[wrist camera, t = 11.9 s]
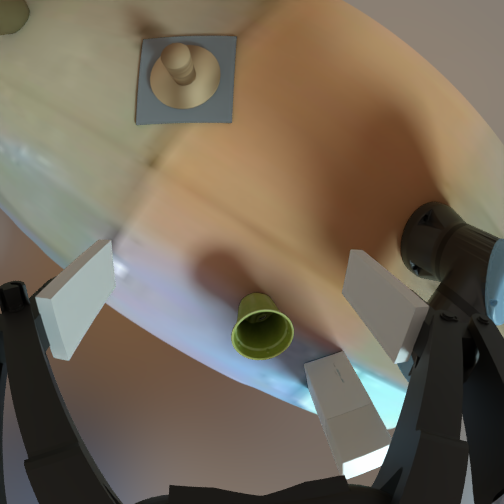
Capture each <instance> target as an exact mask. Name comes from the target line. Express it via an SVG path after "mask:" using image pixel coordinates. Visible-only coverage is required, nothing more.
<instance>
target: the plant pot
mask: <svg viewBox="0 0 504 504" xmlns="http://www.w3.org/2000/svg"><path fill="white" fill-rule="evenodd" d="M264 316H266V317H265V318H263V319H261V320H259V318H261V317H264ZM293 336H294V328H293V324H292V322H291V321H290V319H289V318H288V317H287V316H286V315H285V314H283V313H282V312H280V311H279V310H278V308H277V307H276V305H275V304H274V302H273V301H272V299H271V298H270V297H269V296H267V295H265V294H261V293H252V294H249V295H247V296H246V297H244V298H243V299H242V301H241V303H240V305H239V309H238V318H237V323H236V324H235V326H234V328H233V330H232V334H231V340H232V344H233V347H234V348H235V350H236V351H237V352H238V353H239V354H240V355H242V356H244V357H246V358H249V359H252V360H266V359H270V358H273V357H276V356H278V355H279V354H281V353H282V352H284V351H285V350H286V349H287V348H288V347H289V345H290V344H291V342H292V340H293Z"/></svg>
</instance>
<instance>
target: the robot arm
mask: <svg viewBox="0 0 504 504" xmlns="http://www.w3.org/2000/svg"><path fill="white" fill-rule="evenodd" d="M401 254H402V259H403V262H404V264H405V266H406V267H407V268H408V269H409V270H410V271H411V272H412V273H414V274H415V275H416V276H418V277H420V278H424V279H429V280H434V281H439V282H441V283H440V285H439V286H438V288H437V289H436V290H435V292H434V293H433V295H432V296H431V297H430V299H429V300H428V302H427V303H426V302H425V301H423V299H422V298H421V297H420V296H418V295H417V294H416V293H415V292H414V291H413V290H411V289H409V288H408V287H407V286H406V285H404V284H403V283H402V282H401V281H400V280H399V279H397V278H396V277H395V276H394V275H393V274H391V273H390V272H389V271H388V270H387V269H385V268H384V267H383V266H382V265H380V264H379V263H378V262H377V261H376V260H374V259H373V258H372V257H371V256H369V255H368V254H367V253H366V252H364V251H363V250H355V249H351V250H350V255H349V261H348V266H347V271H346V276H345V281H344V285H343V290H342V294H343V295H344V297H345V298H346V299H347V301H348V302H349V303H350V305H351V306H352V307H353V308H354V310H355V311H356V312H357V314H358V315H359V316H360V318H361V319H362V320H363V322H364V323H365V324H366V326H367V327H368V328H369V330H370V331H371V333H372V334H373V335H374V337H375V338H376V339H377V341H378V342H379V343H380V345H381V346H382V348H383V349H384V350H385V352H386V353H387V354H388V356H389V357H390V359H391V360H392V361H393V363H394V364H396V363H397V365H398V367H399V369H400V370H401V372H402V374H403V375H404V377H405V378H406V380H407V381H408V382H409V385H408V389H407V393H406V396H405V400H404V403H403V407H402V410H401V413H400V416H399V420H398V423H397V426H396V429H395V432H394V434H393V437H392V440H391V443H390V445H389V448H388V451H387V453H386V456H385V458H384V461H383V463H382V466H381V469H380V471H379V473H378V475H377V477H376V479H375V481H374V483H373V485H372V486H371V487H368V486H362V485H354V484H348V483H347V481H346V477H345V475H341V476H336V477H331V478H326V479H320V480H314V481H308V482H304V483H301V484H298V485H295V486H293V487H290V488H287V489H284V490H281V491H278V492H275V493H271V494H268V495H264V496H256V495H249V494H243V493H238V492H232V491H227V490H222V489H217V488H207V487H187V486H174V485H170V486H169V487H170V488H169V495H161V496H157V497H152V498H149V499H145V500H142V501H140V502H138V503H135V504H460V503H461V499H462V494H463V489H464V483H465V477H466V471H467V464H468V455H469V456H470V464H471V474H472V484H473V495H474V503H475V504H504V338H503V337H502V335H501V333H500V332H499V330H498V328H497V327H496V325H501V324H503V323H504V239H500V238H498V237H496V236H494V235H491V234H489V233H487V232H485V231H483V230H480V229H478V228H476V227H474V226H471V225H469V224H467V223H466V222H465V221H464V220H463V219H462V218H461V217H460V216H459V215H458V214H457V213H456V212H455V211H454V210H453V209H452V208H451V207H449V206H447V205H445V204H442V203H439V202H430V203H427V204H424V205H423V206H421V207H420V208H418V209H417V210H416V211H415V212H414V214H413V215H412V216H411V218H410V219H409V221H408V223H407V224H406V227H405V229H404V232H403V236H402V241H401ZM115 287H116V284H115V275H114V266H113V256H112V244H111V240H98V241H97V242H95V243H94V244H93V245H92V246H91V247H89V248H88V249H87V250H86V251H85V252H84V253H82V254H81V255H80V256H79V257H78V258H77V259H75V260H74V261H73V262H72V263H71V264H70V265H69V266H68V267H66V268H65V269H64V270H63V271H62V272H61V273H60V274H59V275H58V276H56V277H54V278H53V279H50V280H48V281H47V282H46V283H45V284H44V285H43V286H42V287H41V288H39V289H38V291H36V293H34V294H33V295H32V296H31V297H30V298H28V294H27V290H26V286H25V284H24V282H21V281H12V282H8V283H5V284H3V285H1V286H0V308H1V311H2V314H0V504H7V502H6V495H5V485H4V475H3V453H2V431H3V430H2V429H3V410H4V396H5V388H6V379H7V372H8V378H9V383H10V389H11V395H12V400H13V404H14V409H15V412H16V417H17V420H18V424H19V428H20V432H21V435H22V438H23V442H24V445H25V448H26V451H27V454H28V459H27V460H24V466H25V469H26V473H27V475H28V478H29V480H30V483H31V486H32V488H33V491H34V493H35V495H36V498H37V500H38V502H39V504H123V503H122V502H121V501H120V499H119V498H118V497H117V496H116V494H115V493H114V491H113V490H112V489H111V487H110V485H109V484H108V482H107V481H106V479H105V478H104V476H103V475H102V473H101V472H100V470H99V469H98V467H97V465H96V463H95V462H94V460H93V458H92V456H91V455H90V453H89V451H88V449H87V447H86V446H85V444H84V442H83V440H82V438H81V436H80V434H79V432H78V430H77V428H76V426H75V424H74V422H73V420H72V418H71V416H70V413H69V411H68V409H67V407H66V404H65V402H64V400H63V397H62V395H61V393H60V390H59V388H58V385H57V383H56V380H55V377H54V375H53V372H52V369H51V366H50V364H49V360H48V358H47V355H46V350H47V349H48V347H49V346H50V348H51V351H52V354H53V357H54V358H58V359H63V360H68V361H69V360H70V358H71V356H72V355H73V353H74V351H75V350H76V348H77V346H78V345H79V343H80V341H81V340H82V338H83V336H84V335H85V333H86V332H87V330H88V328H89V327H90V325H91V324H92V322H93V320H94V318H95V317H96V315H97V314H98V313H99V311H100V310H101V308H102V307H103V305H104V303H105V302H106V300H107V299H108V297H109V296H110V294H111V293H112V292H113V290H114V289H115ZM462 415H463V420H464V424H465V430H466V436H467V442H468V443H467V442H466V441H462V440H460V431H461V420H462Z"/></svg>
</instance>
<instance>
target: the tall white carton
mask: <svg viewBox="0 0 504 504" xmlns="http://www.w3.org/2000/svg"><path fill="white" fill-rule="evenodd" d="M304 368H305V373H306V378H307V384H308V389H309V392H310V394H311V397H312V400H313V403H314V405H315V408H316V411H317V414H318V416H319V419H320V422H321V424H322V427H323V430H324V433H325V435H326V438H327V441H328V443H329V446H330V448H331V451H332V454H333V457H334V460H335V462H336V465H337V468H338V470H339V473H340V476H341V475H345V477H346V479H349V478H352V477H354V476H357V475H359V474H362V473H365V472H367V471H370V470H372V469H375V468H377V467H379V466H382V463H383V461H384V458H385V456H386V453H387V451H388V448H389V445H390V443H391V440H392V438H391V436H390V435H389V432H388V431H387V429H386V427H385V425H384V423H383V421H382V420H381V418H380V416H379V414H378V412H377V410H376V409H375V407H374V405H373V403H372V401H371V399H370V397H369V395H368V394H367V392H366V390H365V388H364V386H363V385H362V383H361V381H360V379H359V378H358V376H357V374H356V372H355V370H354V369H353V367H352V365H351V363H350V362H349V360H348V358H347V356H346V355H345V353H344V351H341V352H338V353H335V354H332V355H329V356H326V357H323V358H320V359H317V360H314V361H311V362H308V363H305V364H304Z"/></svg>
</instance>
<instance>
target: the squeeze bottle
mask: <svg viewBox="0 0 504 504" xmlns="http://www.w3.org/2000/svg"><path fill="white" fill-rule="evenodd" d="M28 17H29V8H28V6H27V4H26V2H25V0H0V35H5V34H12V33H15V32H17V31H18V30H20V29H21V28H22V27H23V26H24V24H25V23H26V21H27V20H28Z"/></svg>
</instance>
